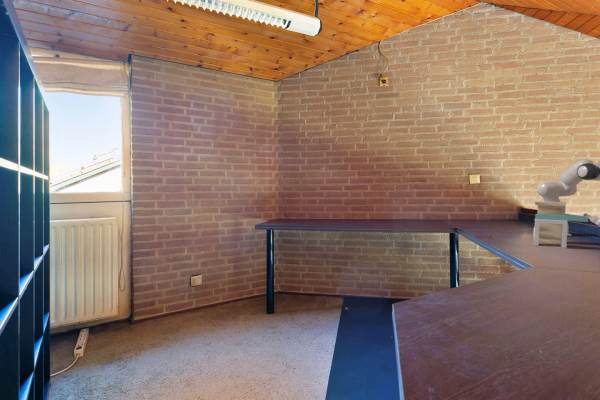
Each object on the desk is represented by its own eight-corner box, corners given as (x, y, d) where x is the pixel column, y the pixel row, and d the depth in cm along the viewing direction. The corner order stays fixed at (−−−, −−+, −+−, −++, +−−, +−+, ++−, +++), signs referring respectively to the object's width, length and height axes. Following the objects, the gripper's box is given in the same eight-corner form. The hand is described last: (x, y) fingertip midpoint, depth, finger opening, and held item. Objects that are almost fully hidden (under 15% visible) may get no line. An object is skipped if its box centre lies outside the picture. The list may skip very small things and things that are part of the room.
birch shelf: (533, 240, 208) (534, 201, 206) (562, 242, 199) (564, 202, 197) (533, 241, 201) (535, 202, 200) (564, 244, 192) (565, 202, 191)
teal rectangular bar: (535, 218, 194) (535, 213, 194) (587, 221, 180) (587, 216, 180) (535, 219, 192) (535, 214, 191) (587, 221, 178) (588, 216, 177)
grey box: (534, 243, 197) (535, 218, 196) (564, 245, 188) (566, 219, 187) (534, 245, 191) (535, 219, 190) (566, 248, 182) (567, 221, 181)
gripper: (613, 221, 180) (586, 209, 186) (622, 226, 163) (592, 211, 170) (605, 230, 182) (578, 217, 189) (613, 235, 165) (584, 221, 172)
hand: (585, 215), depth 179 cm, fingers open, 8 cm apart
